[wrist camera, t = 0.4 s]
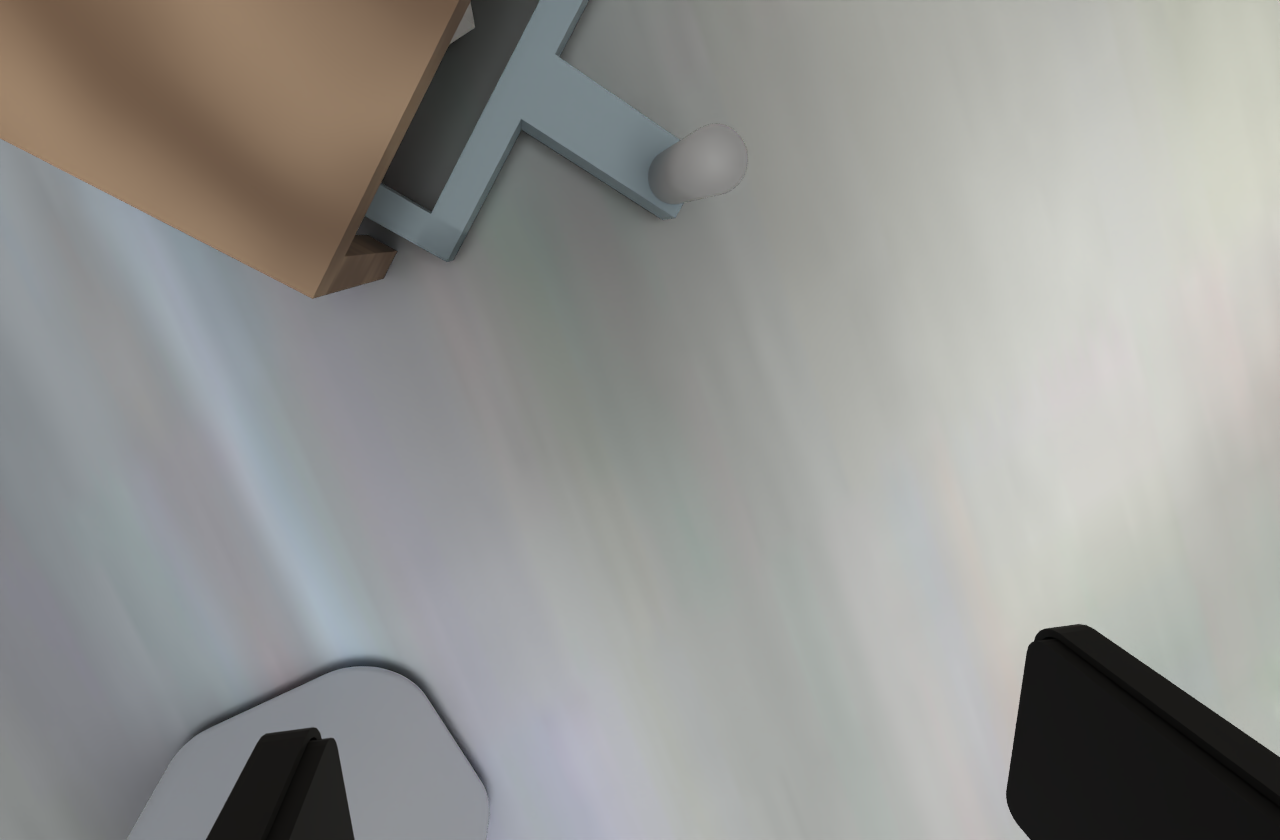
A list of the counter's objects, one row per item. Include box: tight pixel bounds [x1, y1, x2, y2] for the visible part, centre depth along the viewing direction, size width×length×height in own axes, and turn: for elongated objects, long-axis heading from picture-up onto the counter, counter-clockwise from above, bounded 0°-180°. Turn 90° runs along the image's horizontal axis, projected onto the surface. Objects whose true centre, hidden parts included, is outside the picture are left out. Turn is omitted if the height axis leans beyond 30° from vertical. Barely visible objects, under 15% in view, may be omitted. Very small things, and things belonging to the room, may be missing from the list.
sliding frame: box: [365, 0, 748, 262], centre depth 26 cm, size 24×17×10 cm
